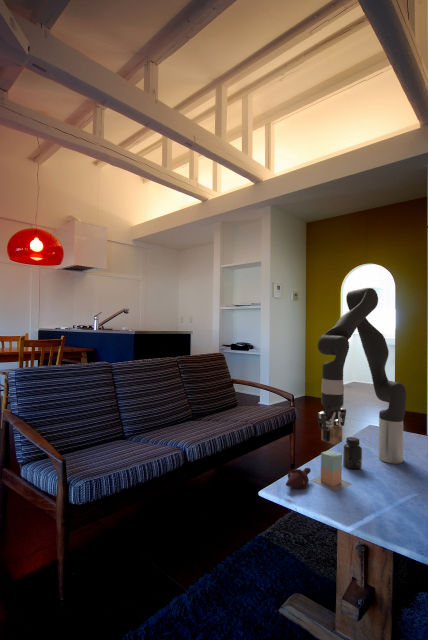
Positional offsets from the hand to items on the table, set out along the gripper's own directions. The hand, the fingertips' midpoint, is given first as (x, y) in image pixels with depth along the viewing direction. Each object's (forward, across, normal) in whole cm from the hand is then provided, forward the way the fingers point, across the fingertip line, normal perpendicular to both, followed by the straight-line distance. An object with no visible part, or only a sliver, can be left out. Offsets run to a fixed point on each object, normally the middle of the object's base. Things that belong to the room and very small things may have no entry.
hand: (331, 439), depth 125 cm
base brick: (+15, 0, 0) cm, 15 cm away
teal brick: (+10, 0, 0) cm, 10 cm away
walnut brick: (0, 0, 0) cm, 0 cm away
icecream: (+16, +12, -4) cm, 21 cm away
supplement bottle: (+16, -19, -4) cm, 25 cm away
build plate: (+16, 0, 0) cm, 16 cm away
